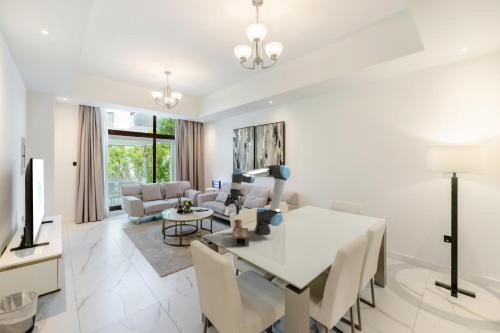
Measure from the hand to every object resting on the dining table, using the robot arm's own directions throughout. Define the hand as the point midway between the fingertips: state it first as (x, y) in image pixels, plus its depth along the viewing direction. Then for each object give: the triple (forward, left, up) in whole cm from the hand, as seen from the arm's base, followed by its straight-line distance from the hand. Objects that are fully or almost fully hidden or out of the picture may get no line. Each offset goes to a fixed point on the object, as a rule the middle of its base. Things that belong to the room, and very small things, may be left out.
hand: (230, 216), depth 164 cm
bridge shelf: (-8, -17, -26) cm, 32 cm away
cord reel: (-6, -35, -26) cm, 44 cm away
